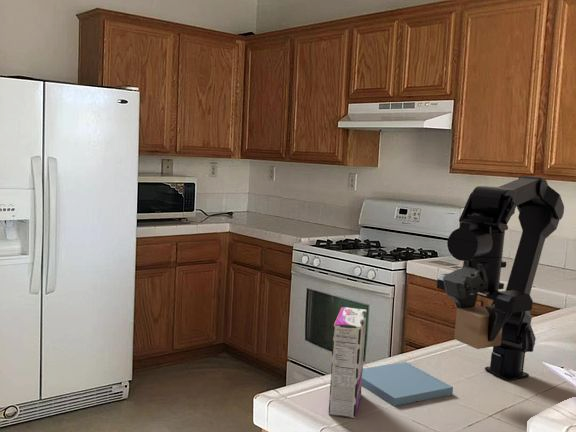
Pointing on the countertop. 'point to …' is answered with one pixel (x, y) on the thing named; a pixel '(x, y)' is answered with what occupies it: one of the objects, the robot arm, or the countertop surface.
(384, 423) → the countertop surface
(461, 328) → the walnut cube
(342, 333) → the candy bar box
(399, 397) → the slate board
